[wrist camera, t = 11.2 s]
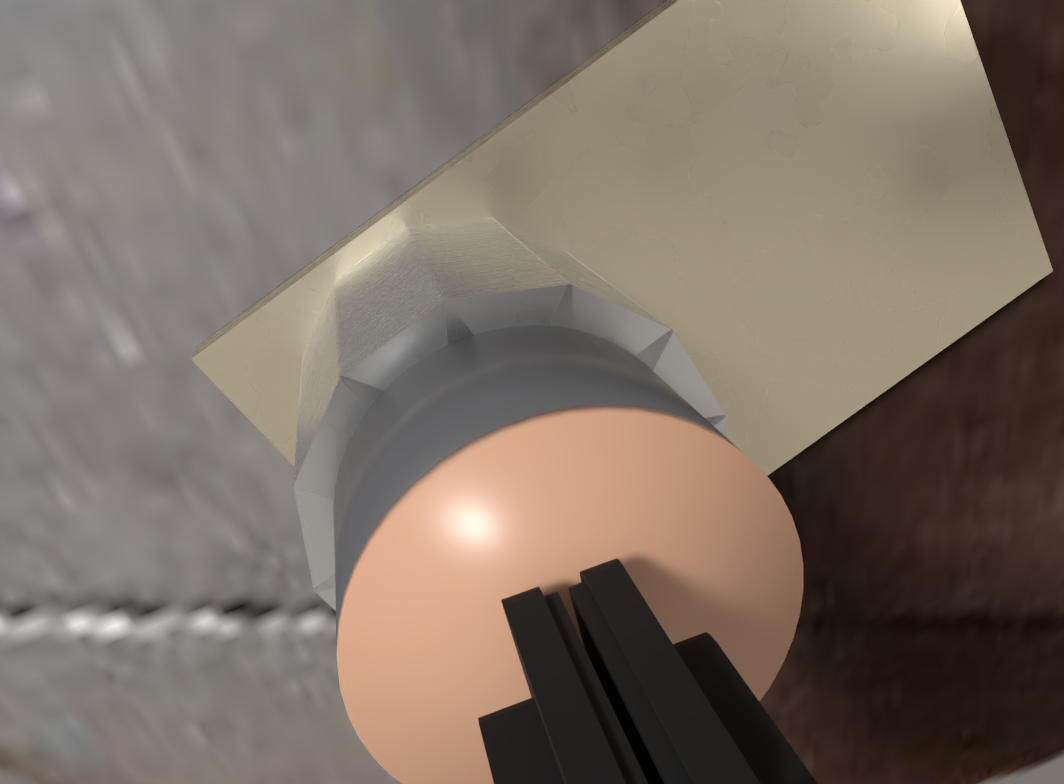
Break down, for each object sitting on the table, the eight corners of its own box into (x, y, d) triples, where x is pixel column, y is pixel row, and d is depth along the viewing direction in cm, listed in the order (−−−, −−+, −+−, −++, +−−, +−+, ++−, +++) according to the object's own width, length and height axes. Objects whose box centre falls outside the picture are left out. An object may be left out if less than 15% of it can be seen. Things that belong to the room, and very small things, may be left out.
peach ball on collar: (532, 217, 16) (665, 307, 10) (690, 452, 19) (869, 639, 13) (261, 417, 16) (223, 632, 10) (457, 621, 19) (522, 887, 13)
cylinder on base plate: (877, -155, 20) (1188, -283, 13) (1027, 263, 26) (1304, 339, 18) (197, 346, 21) (127, 494, 13) (486, 652, 26) (549, 874, 19)
